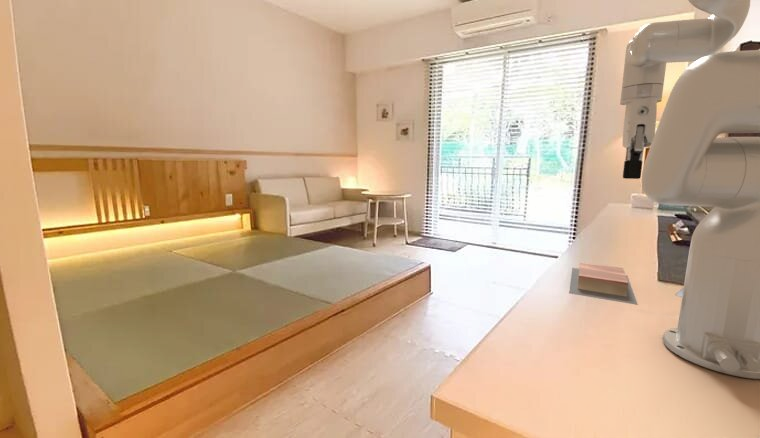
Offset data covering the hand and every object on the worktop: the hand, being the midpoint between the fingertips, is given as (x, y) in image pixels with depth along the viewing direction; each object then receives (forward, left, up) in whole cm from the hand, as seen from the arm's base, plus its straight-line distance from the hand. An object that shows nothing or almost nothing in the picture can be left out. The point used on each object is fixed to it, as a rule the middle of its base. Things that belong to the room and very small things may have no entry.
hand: (631, 178), depth 81 cm
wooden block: (-1, +4, -23) cm, 23 cm away
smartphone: (-2, -15, -25) cm, 29 cm away
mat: (-7, +4, -25) cm, 26 cm away
